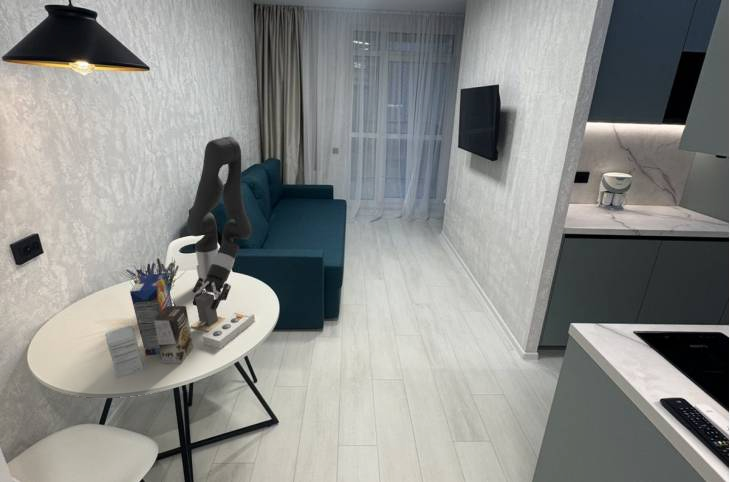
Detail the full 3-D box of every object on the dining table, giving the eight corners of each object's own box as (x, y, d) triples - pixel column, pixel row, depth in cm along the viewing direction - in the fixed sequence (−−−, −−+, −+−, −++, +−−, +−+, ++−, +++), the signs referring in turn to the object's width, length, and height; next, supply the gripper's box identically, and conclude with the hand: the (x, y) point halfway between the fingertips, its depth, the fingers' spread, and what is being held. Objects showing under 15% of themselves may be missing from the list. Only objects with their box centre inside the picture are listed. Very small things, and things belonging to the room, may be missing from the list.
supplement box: (114, 365, 122) (105, 332, 118) (141, 357, 126) (132, 324, 122) (116, 379, 117) (106, 344, 112) (144, 369, 121) (135, 335, 116)
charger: (195, 326, 142) (190, 300, 138) (209, 318, 148) (204, 292, 144) (205, 329, 140) (200, 303, 136) (218, 320, 146) (214, 294, 142)
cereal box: (155, 335, 138) (141, 275, 129) (178, 333, 139) (165, 273, 131) (145, 356, 127) (129, 291, 118) (170, 353, 128) (156, 289, 120)
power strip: (203, 343, 133) (202, 334, 132) (239, 316, 149) (238, 308, 148) (220, 348, 130) (219, 339, 129) (254, 320, 146) (253, 312, 145)
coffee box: (182, 363, 123) (173, 320, 117) (162, 363, 123) (152, 320, 117) (194, 346, 132) (186, 305, 126) (176, 346, 132) (167, 305, 126)
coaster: (191, 327, 143) (190, 325, 142) (208, 315, 150) (208, 314, 150) (209, 332, 139) (209, 331, 139) (226, 319, 147) (226, 318, 147)
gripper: (200, 260, 146) (182, 301, 140) (230, 266, 141) (212, 308, 135) (212, 267, 153) (195, 306, 147) (241, 273, 148) (224, 314, 142)
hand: (203, 307), depth 141 cm, fingers open, 8 cm apart
